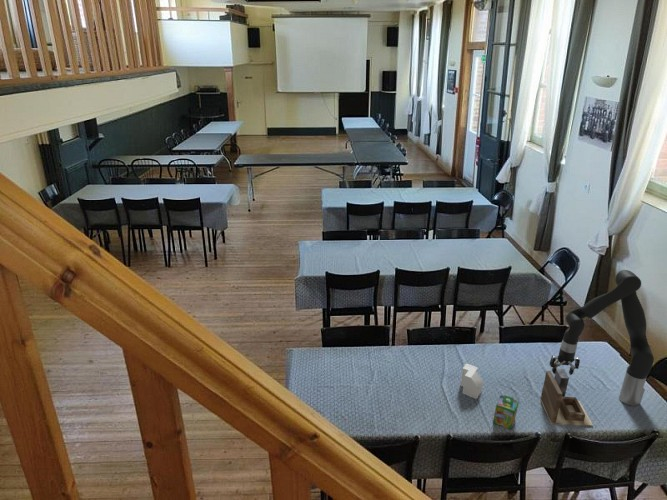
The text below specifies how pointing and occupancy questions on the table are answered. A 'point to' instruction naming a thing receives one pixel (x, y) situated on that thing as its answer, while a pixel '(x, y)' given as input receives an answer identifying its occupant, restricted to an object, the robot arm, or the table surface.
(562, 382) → the dark grey block
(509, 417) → the chalk box
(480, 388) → the white stepped block
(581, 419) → the post socket
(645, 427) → the table surface
